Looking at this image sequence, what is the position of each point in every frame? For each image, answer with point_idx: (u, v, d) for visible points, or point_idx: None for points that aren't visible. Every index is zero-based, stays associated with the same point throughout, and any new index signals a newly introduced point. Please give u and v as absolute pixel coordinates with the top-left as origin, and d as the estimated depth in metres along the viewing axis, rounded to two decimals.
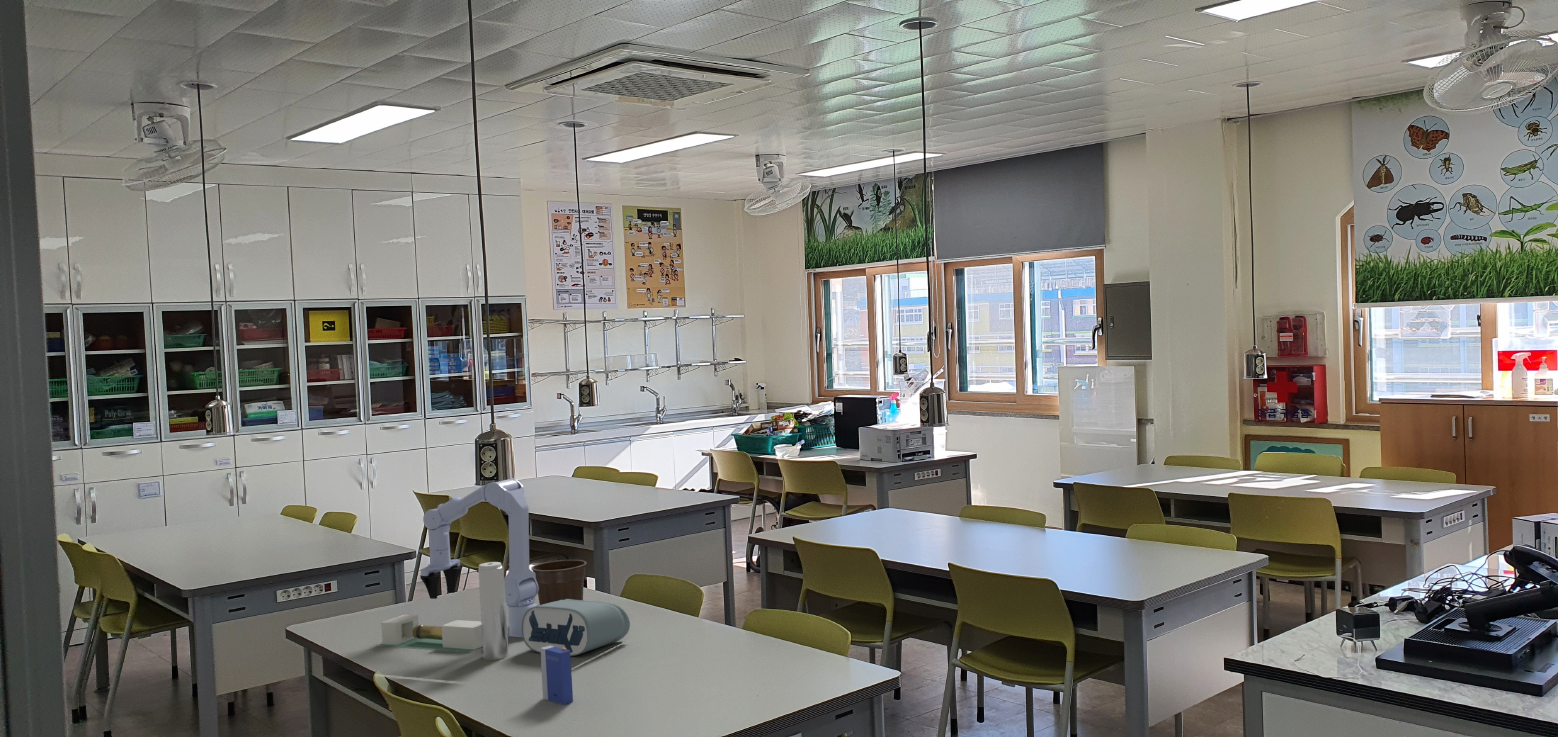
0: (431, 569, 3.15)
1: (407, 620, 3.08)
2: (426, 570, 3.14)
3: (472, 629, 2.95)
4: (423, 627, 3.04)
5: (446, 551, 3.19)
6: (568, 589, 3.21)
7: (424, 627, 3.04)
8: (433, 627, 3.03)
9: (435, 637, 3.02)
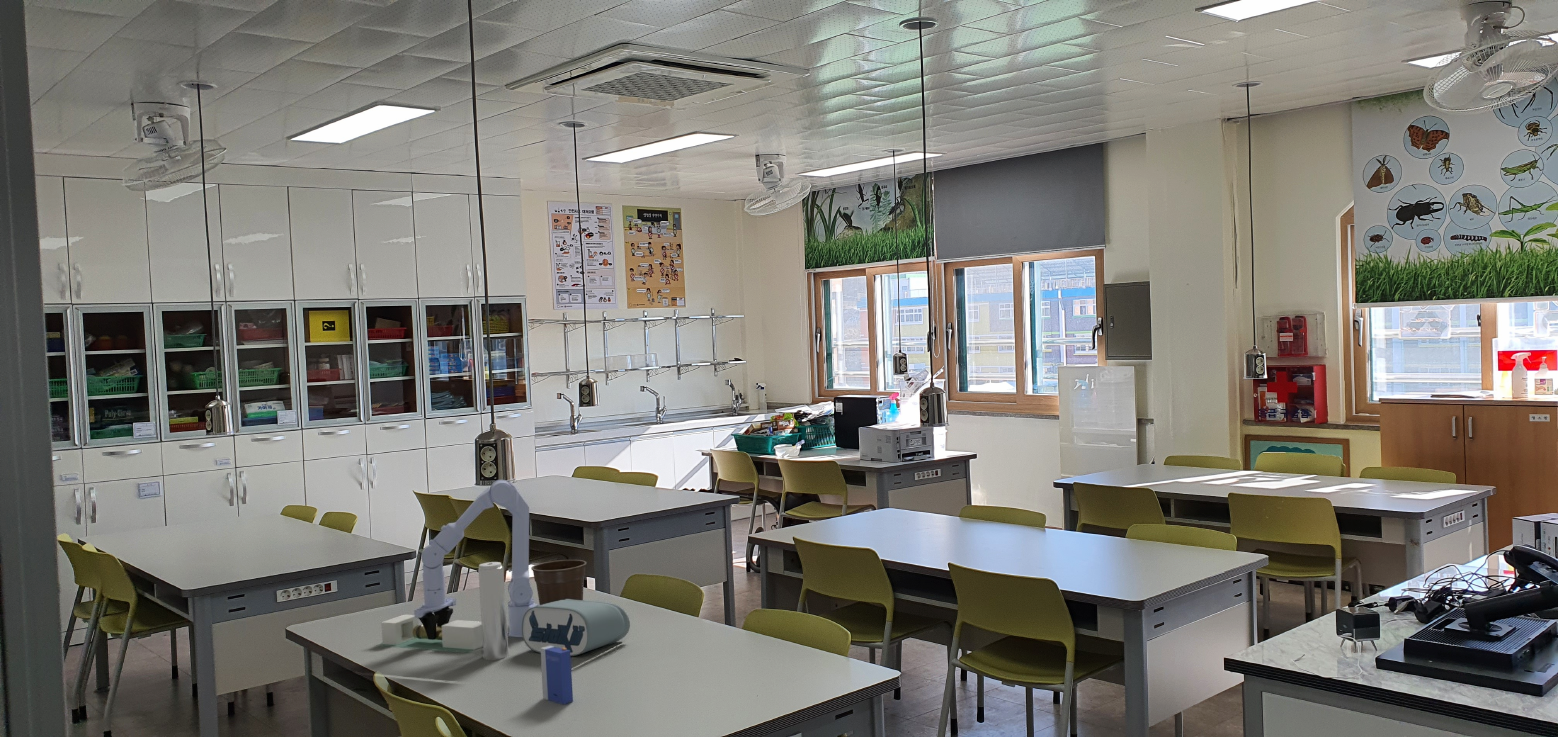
0: (425, 610, 2.98)
1: (407, 620, 3.08)
2: (420, 611, 2.97)
3: (472, 629, 2.95)
4: (423, 627, 3.04)
5: (441, 591, 3.02)
6: (568, 589, 3.21)
7: None
8: None
9: None
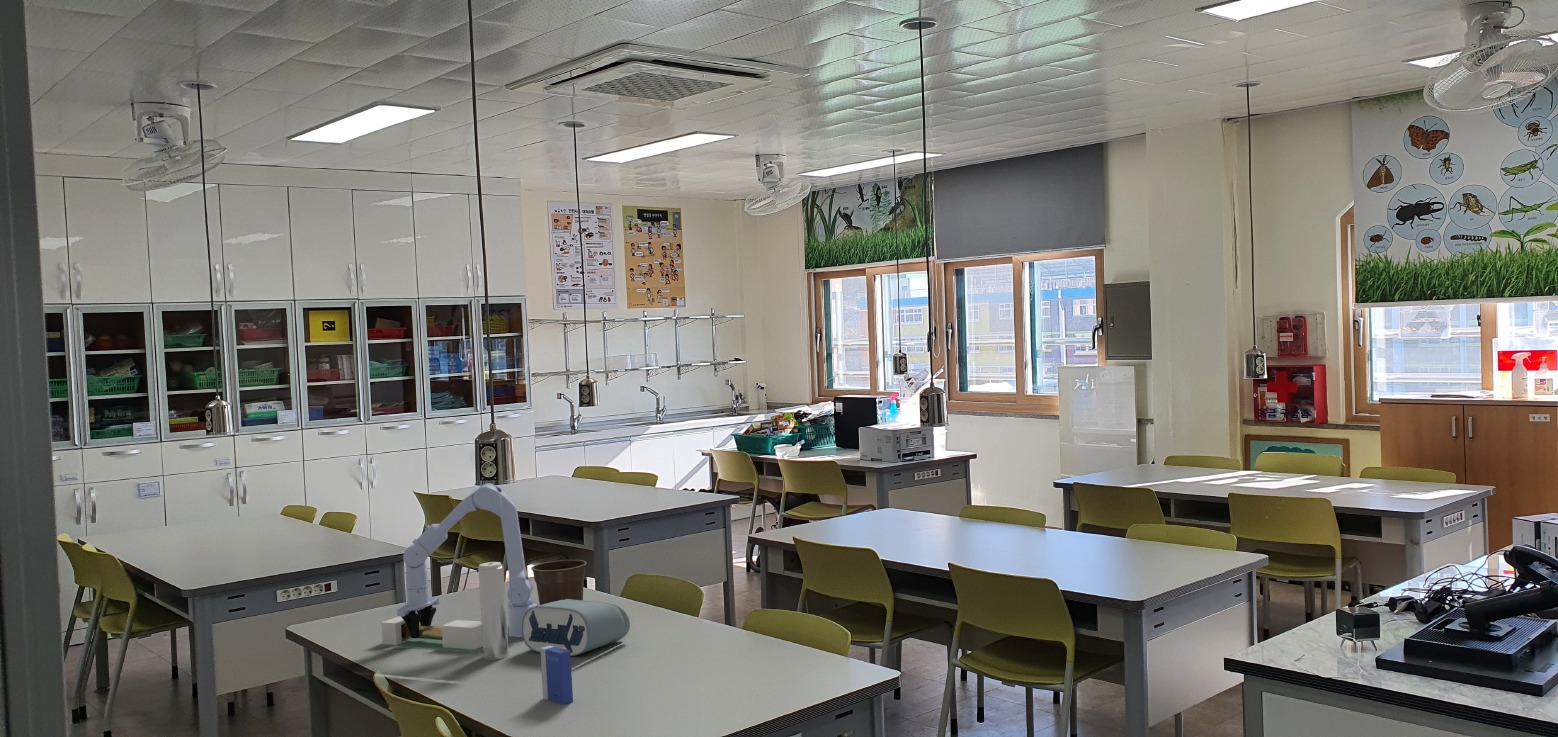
0: (408, 609, 3.00)
1: None
2: (403, 610, 2.99)
3: (472, 629, 2.95)
4: (406, 626, 3.07)
5: (424, 590, 3.04)
6: (568, 589, 3.21)
7: None
8: None
9: None
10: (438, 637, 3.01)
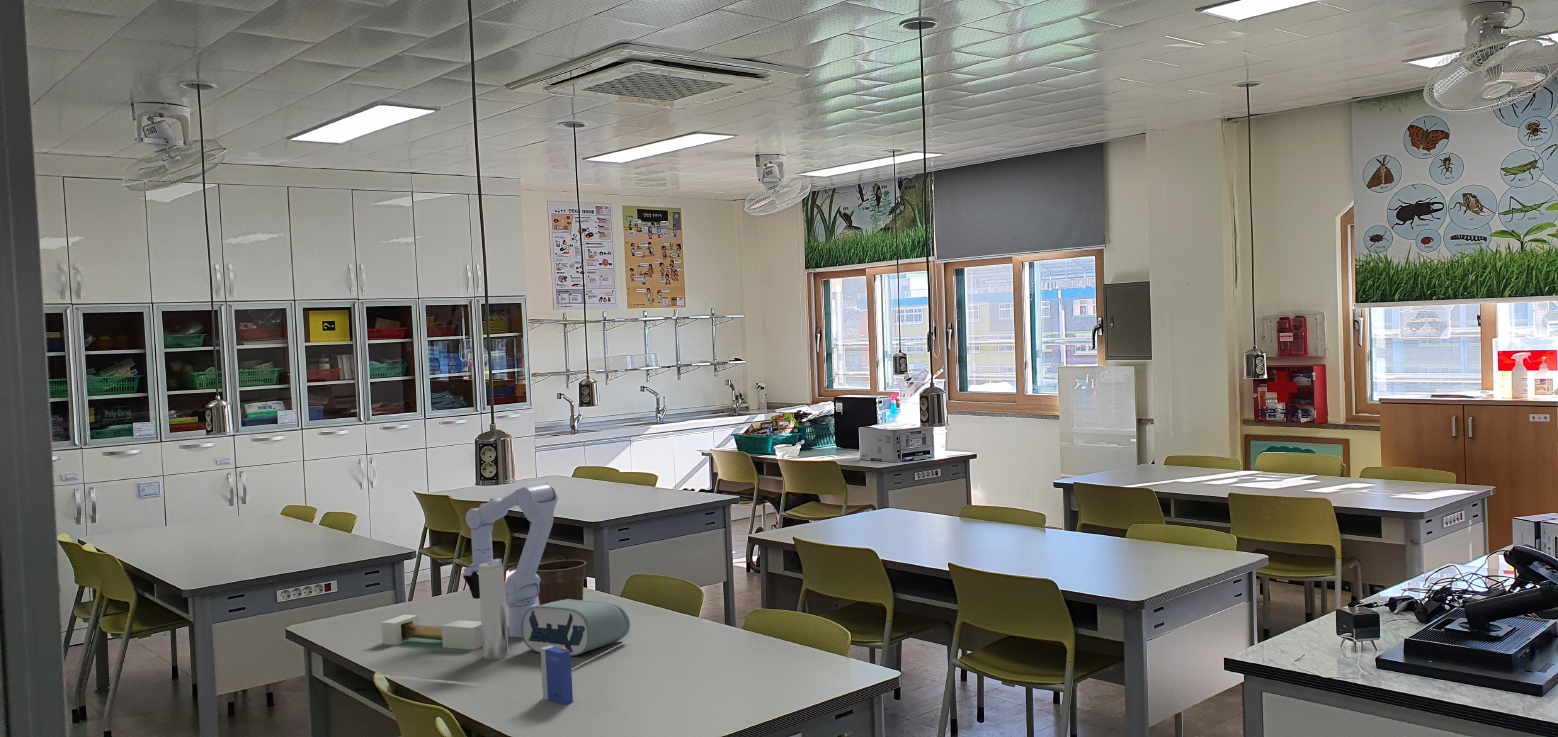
0: (474, 569, 3.13)
1: (407, 620, 3.08)
2: (469, 570, 3.12)
3: (472, 629, 2.95)
4: (406, 626, 3.07)
5: (489, 551, 3.17)
6: (568, 589, 3.21)
7: (407, 626, 3.07)
8: (417, 626, 3.05)
9: (418, 636, 3.04)
10: (438, 637, 3.01)
